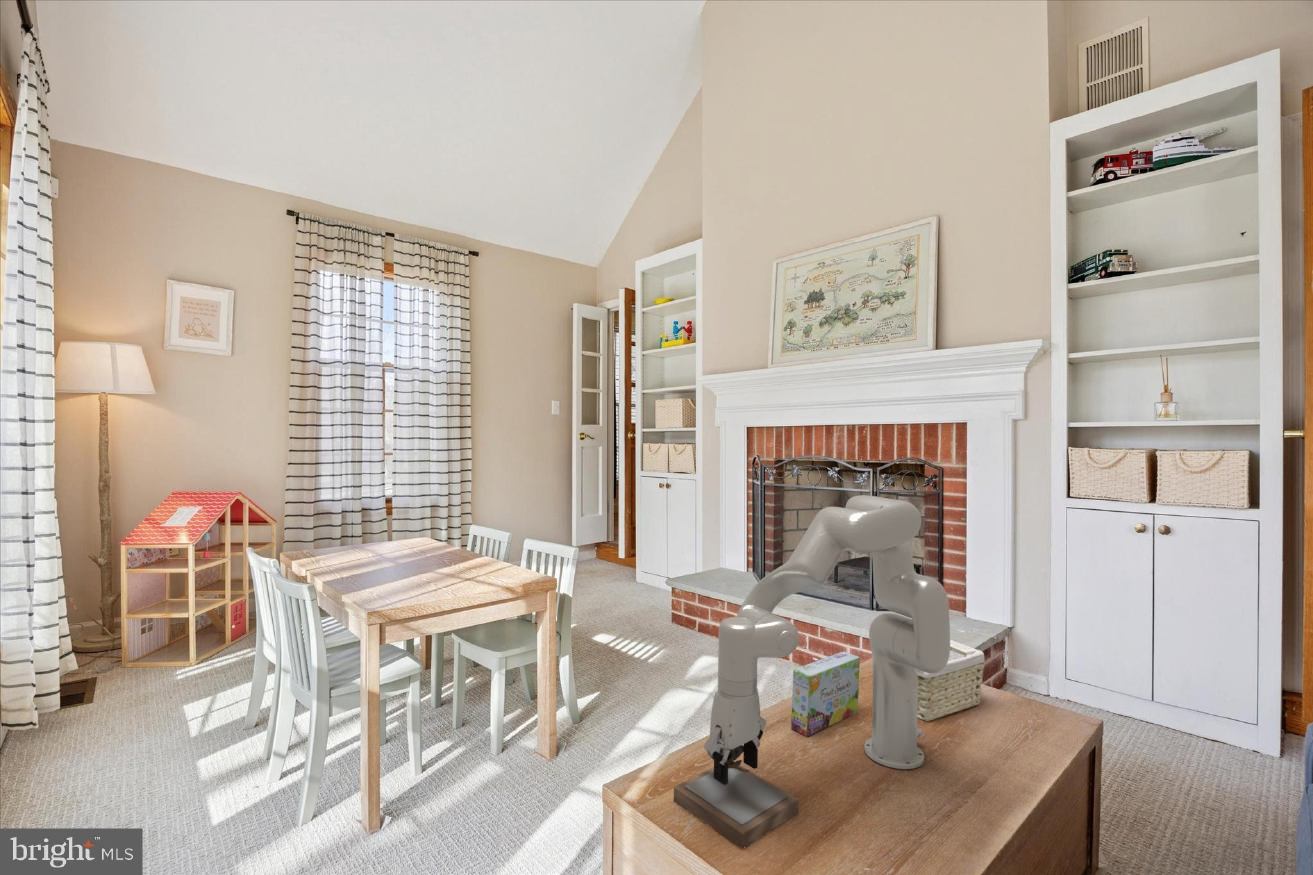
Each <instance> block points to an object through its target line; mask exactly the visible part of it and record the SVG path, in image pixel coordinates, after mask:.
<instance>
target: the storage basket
mask: <svg viewBox="0 0 1313 875" xmlns="http://www.w3.org/2000/svg"><path fill="white" fill-rule="evenodd" d="M950 651H952V652H955V653H958V654H960V655H962V656H963V657H958V658H955V659H954V658H952V657H949V659H948V662H947V664H946V666H945V667H944V669H943V670H941V671H940V672H937V673H926V672H923V671H920V670H918V669H916V668H915V669H916V673H917V677H918V713H917V719H920V720H922V721H925V722H929V721H932V720H936V719H940V718H942V717H945V716H948V715H950V714H954V713H956V712H961V711H962V710H965V709H969V708H971V707H974V706H977V705H979V704H981V703H982V702H981V694H982V693H981V692H982V683H983V673H984V668H985V662H986V660H985V654H984V652H983V651H982V650H980V649H976V648H973V647H971V646H968V645H966V644H963V643H960V642H957V641H955V640H952V639H950Z"/></svg>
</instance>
